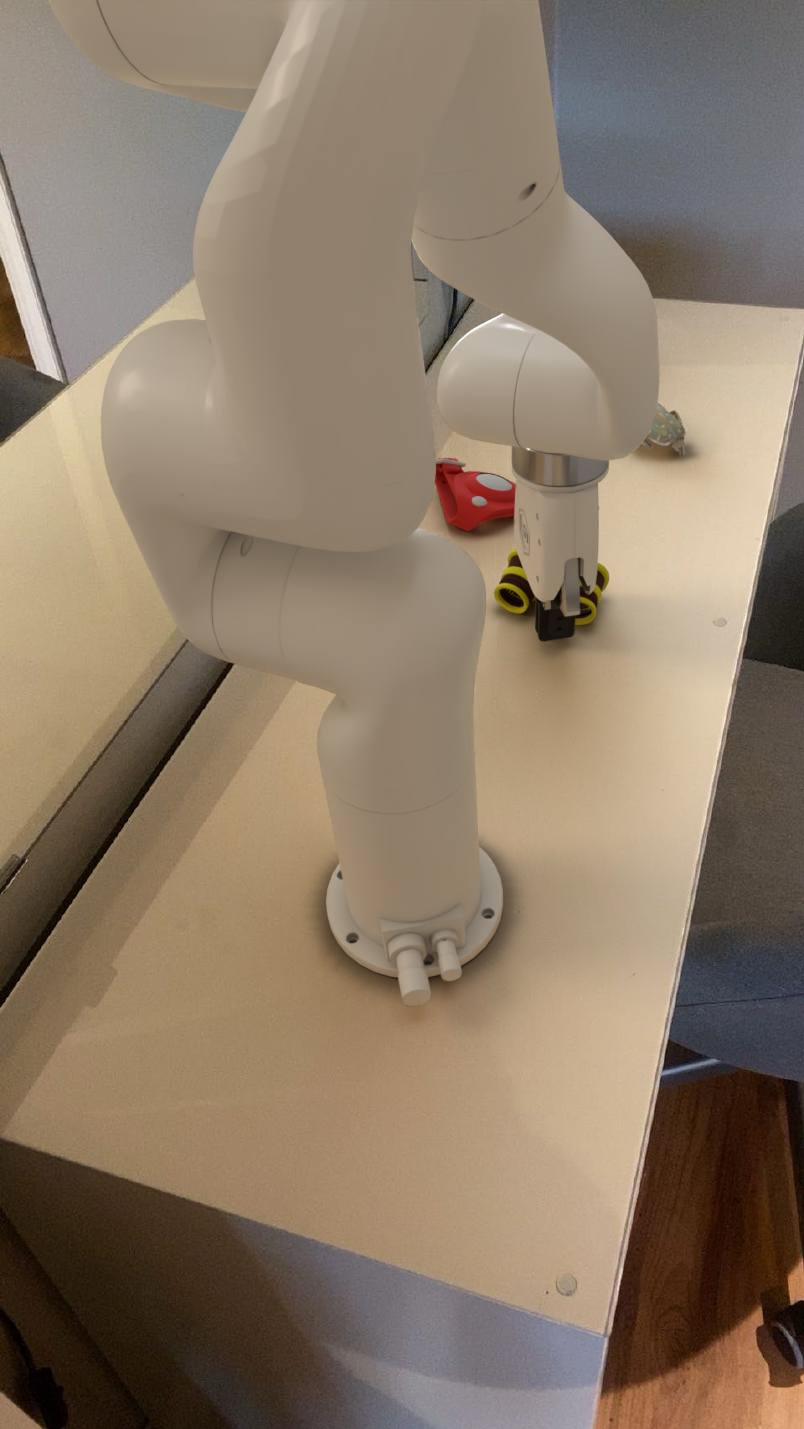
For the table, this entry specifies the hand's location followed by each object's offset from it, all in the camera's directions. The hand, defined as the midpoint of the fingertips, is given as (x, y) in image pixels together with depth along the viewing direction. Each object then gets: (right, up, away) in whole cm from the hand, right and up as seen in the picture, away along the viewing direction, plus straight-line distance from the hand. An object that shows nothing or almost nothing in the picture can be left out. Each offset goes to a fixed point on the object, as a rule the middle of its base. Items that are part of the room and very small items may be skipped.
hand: (554, 633), depth 93 cm
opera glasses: (0, +3, +5) cm, 5 cm away
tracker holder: (-6, +15, +18) cm, 24 cm away
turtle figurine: (+14, +24, +25) cm, 37 cm away
